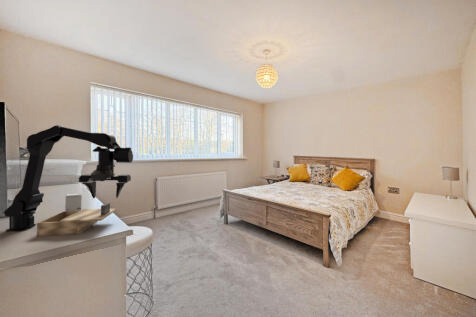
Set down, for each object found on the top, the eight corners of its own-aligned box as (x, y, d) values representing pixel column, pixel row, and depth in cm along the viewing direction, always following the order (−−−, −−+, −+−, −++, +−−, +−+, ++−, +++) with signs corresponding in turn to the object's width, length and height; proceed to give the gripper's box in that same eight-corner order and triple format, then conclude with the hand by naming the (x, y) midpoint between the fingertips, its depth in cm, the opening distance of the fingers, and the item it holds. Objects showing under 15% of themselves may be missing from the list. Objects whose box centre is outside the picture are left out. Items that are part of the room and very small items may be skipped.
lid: (59, 222, 80) (60, 210, 80) (82, 210, 96) (83, 200, 96) (101, 220, 82) (101, 209, 82) (116, 209, 99) (117, 200, 98)
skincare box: (64, 221, 95) (64, 195, 95) (66, 219, 99) (66, 194, 98) (81, 219, 98) (81, 194, 98) (82, 217, 102) (82, 192, 102)
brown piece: (36, 236, 78) (36, 223, 78) (63, 222, 94) (63, 211, 94) (78, 234, 81) (78, 221, 81) (97, 221, 97) (97, 210, 97)
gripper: (70, 162, 81) (70, 202, 81) (122, 163, 84) (122, 201, 84) (86, 161, 91) (85, 196, 92) (131, 162, 95) (130, 196, 95)
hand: (105, 197), depth 90 cm, fingers open, 9 cm apart
